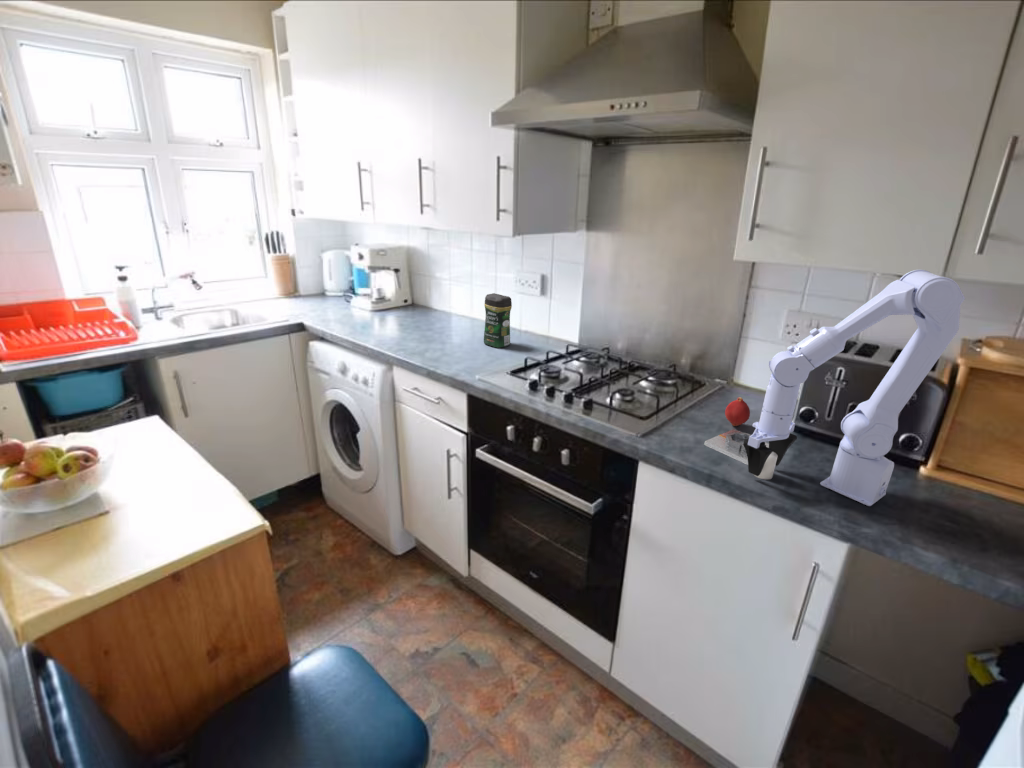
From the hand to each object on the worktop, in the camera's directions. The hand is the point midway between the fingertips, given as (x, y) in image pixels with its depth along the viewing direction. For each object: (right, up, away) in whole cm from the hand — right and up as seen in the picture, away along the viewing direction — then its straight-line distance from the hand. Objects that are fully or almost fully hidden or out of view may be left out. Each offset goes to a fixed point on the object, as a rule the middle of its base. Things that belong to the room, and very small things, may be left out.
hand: (763, 468), depth 111 cm
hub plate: (0, +3, +11) cm, 11 cm away
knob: (0, -1, +1) cm, 1 cm away
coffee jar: (-59, +32, +81) cm, 105 cm away
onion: (+4, +7, +23) cm, 24 cm away
